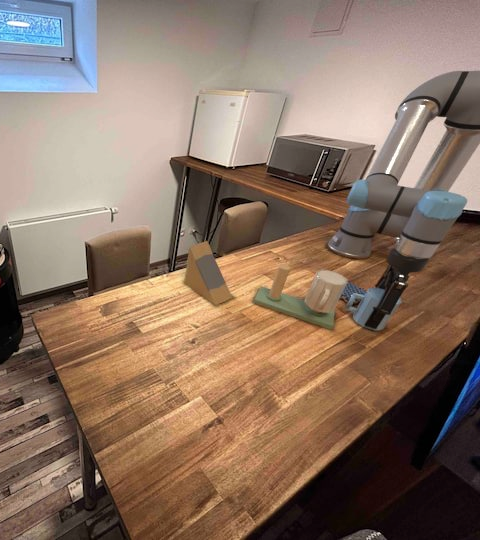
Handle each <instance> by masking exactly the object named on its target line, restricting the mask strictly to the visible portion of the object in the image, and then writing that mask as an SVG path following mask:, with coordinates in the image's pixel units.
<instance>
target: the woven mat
mask: <svg viewBox="0 0 480 540" xmlns="http://www.w3.org/2000/svg"><path fill="white" fill-rule="evenodd" d="M366 292H367V290H365V288H362V287H360V285H356V284H355V283H352V282H351V281H350V280H347V285H346V287H345V289H344V291H343V292H342V294H341V296H340V298H339V299H341V300H343V301H344V302H345V303H346V304H347V303H348V301H349V300H350V298H351V296H352V294H353V293H357V294H361V295H365V293H366ZM361 300H362V299H359V298H355V300H354V302H353V303H352V305H351V306H353V305H354V304H358V302H361Z"/></svg>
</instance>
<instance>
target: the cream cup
mask: <svg viewBox="0 0 480 540" xmlns="http://www.w3.org/2000/svg"><path fill="white" fill-rule="evenodd" d="M347 282H348V278H346V277H345V276H344V275H343V274H341V273H339V272H336V271H332V270H329V269H319V270H317V271H316V272H315V274H314V277H313V279H312V281H311V284H310V286H309V288H308V290H307V292H306V295H305V296H304V299H303V300H304V302H305V303H306V305H307V306H308V307H310V308H312V309H314V310H316V311H319V312H326V313H328V312H331V311H333V310H334V309H335V308H336V306H337V304H338V302H339V300H340V299H341V298H340V296H341V294H342V292H343V291H344V289H345V287H346V285H347Z"/></svg>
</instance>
